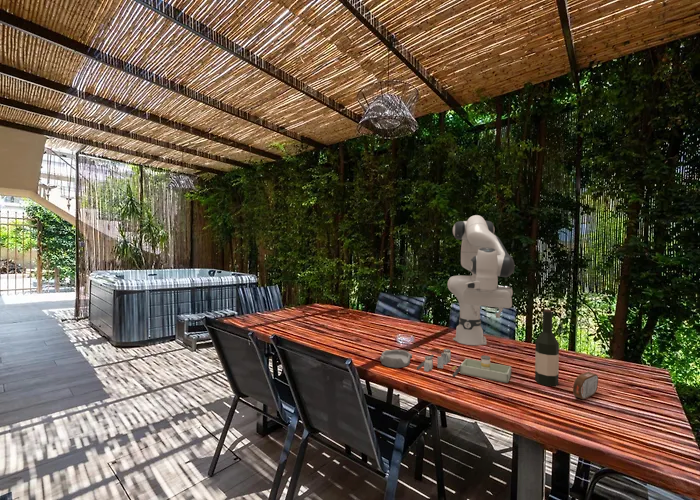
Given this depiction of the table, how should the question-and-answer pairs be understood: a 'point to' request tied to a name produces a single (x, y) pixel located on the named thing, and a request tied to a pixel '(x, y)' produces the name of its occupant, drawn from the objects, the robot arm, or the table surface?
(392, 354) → the dish
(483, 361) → the cylinder
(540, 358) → the wine bottle
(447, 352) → the fuse cartridge near arm
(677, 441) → the table surface
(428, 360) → the fuse cartridge near camera
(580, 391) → the tin
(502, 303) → the robot arm
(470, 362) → the tray
